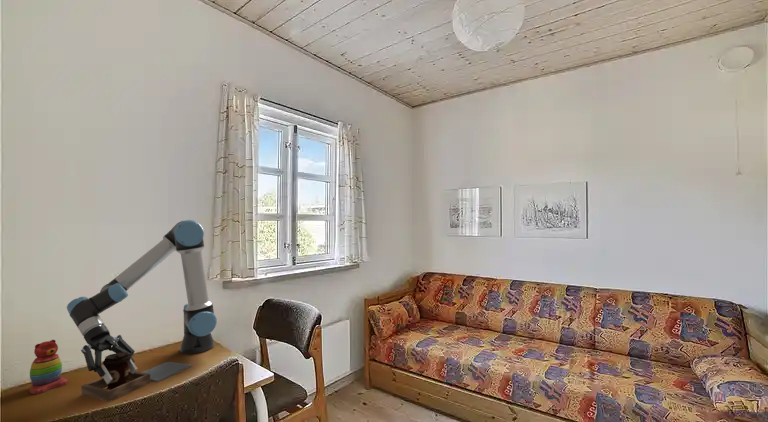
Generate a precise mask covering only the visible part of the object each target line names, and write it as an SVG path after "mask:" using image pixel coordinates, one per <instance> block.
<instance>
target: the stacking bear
mask: <svg viewBox="0 0 768 422" xmlns="http://www.w3.org/2000/svg"><path fill="white" fill-rule="evenodd" d="M33 350H34V352H33V353H34V355H35V357H36V358H34V360H33V361H32V362H31V364H30V365H31V366H30V370H29V379H30V381H31V384H32V385H31V386H30V387H29V393H30V394H31V395H39V394H42V393H44V392H47V391H48V390H52V389H54V388H60V387H63V386H65V385H67V384H68V382H69V381H68V380H67V379H66V378H64V377H61V374H62V371H63V370H62V369H63V364H62V363H63V362H62V361H61V357H60V356H59V354H58V350H59V346H58V343H56V340H55V339H51V340H48V341H43V342H41V343H36V344H35V345H34V349H33Z"/></svg>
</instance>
